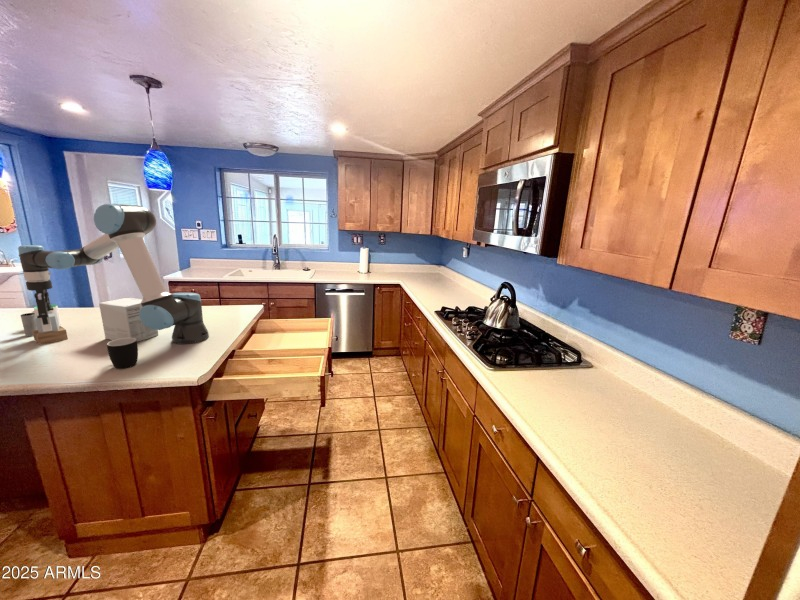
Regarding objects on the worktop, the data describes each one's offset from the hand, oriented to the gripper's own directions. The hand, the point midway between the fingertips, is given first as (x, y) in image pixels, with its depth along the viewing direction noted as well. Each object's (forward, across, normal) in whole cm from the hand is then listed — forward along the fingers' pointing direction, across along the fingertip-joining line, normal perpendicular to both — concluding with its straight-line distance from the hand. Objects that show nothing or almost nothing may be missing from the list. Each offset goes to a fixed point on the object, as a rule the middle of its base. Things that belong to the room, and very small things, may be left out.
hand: (49, 327), depth 145 cm
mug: (+6, -51, -23) cm, 56 cm away
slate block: (+1, 0, 0) cm, 1 cm away
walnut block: (+6, 0, 0) cm, 6 cm away
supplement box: (+6, -16, -28) cm, 33 cm away
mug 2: (+6, +25, +4) cm, 26 cm away
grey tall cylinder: (+6, +13, +7) cm, 16 cm away
